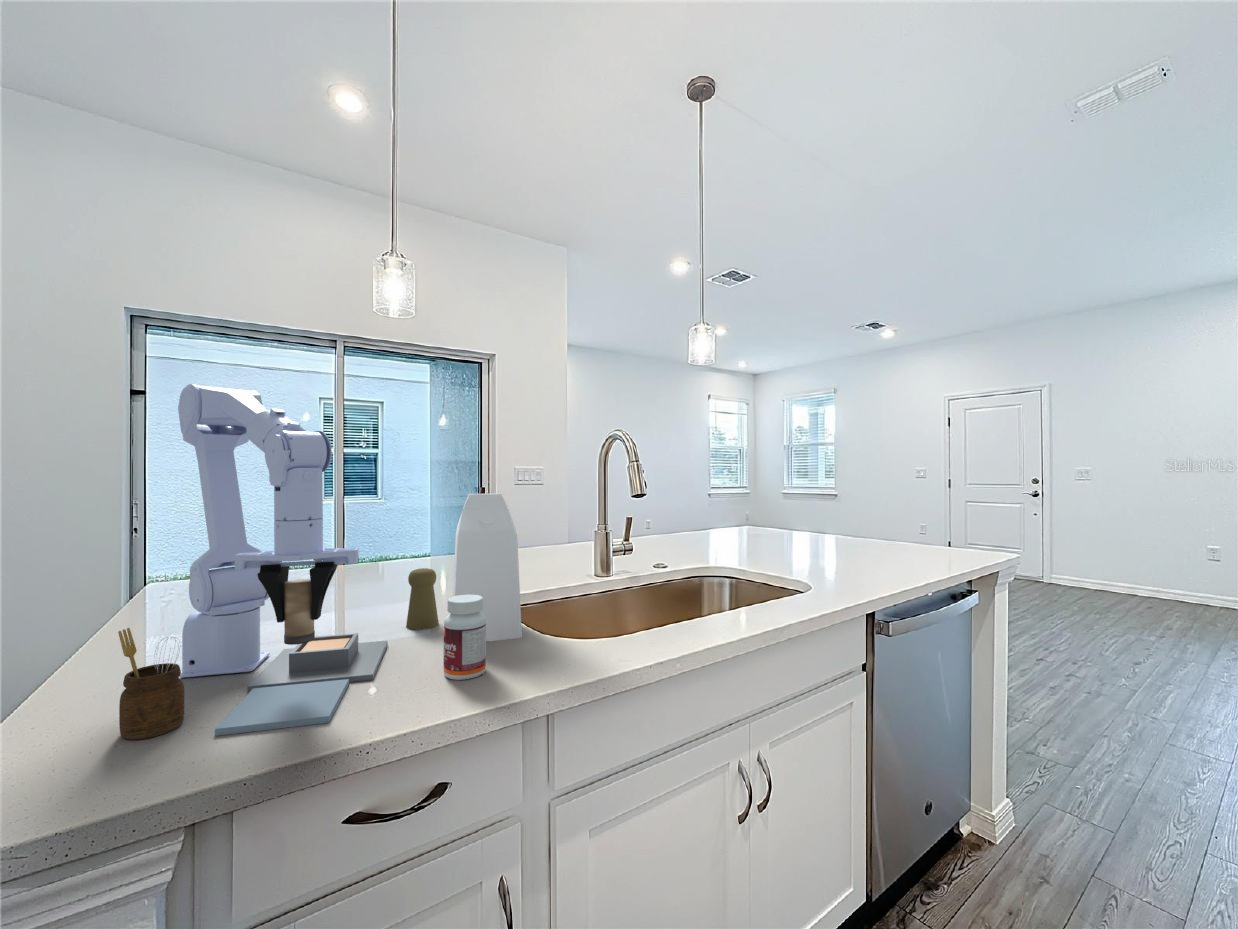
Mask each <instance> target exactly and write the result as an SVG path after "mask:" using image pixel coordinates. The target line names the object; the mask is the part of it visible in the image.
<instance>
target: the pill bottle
mask: <svg viewBox="0 0 1238 929" xmlns="http://www.w3.org/2000/svg"><path fill="white" fill-rule="evenodd" d="M481 610H483V597H482V596H479V595H458V596H454V597H453V596H451V597H449V598H448V599H447V610H446V611H447V612H448V615H447V616H446V617H444V621H443V674H444V676H445V677H446V678H447V679H450V680H454V681H455V680H457V681H458V680H459V681H464V680H469V679H470V678H471V679H474V678H478V677H479V676H481V674H482V675H483V674H484V673H485V671H486V669H487V668H486V667H487V664H486V663H487V641H486V618H485V615H484V614H483V613H481V612H480V611H481Z"/></svg>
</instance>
